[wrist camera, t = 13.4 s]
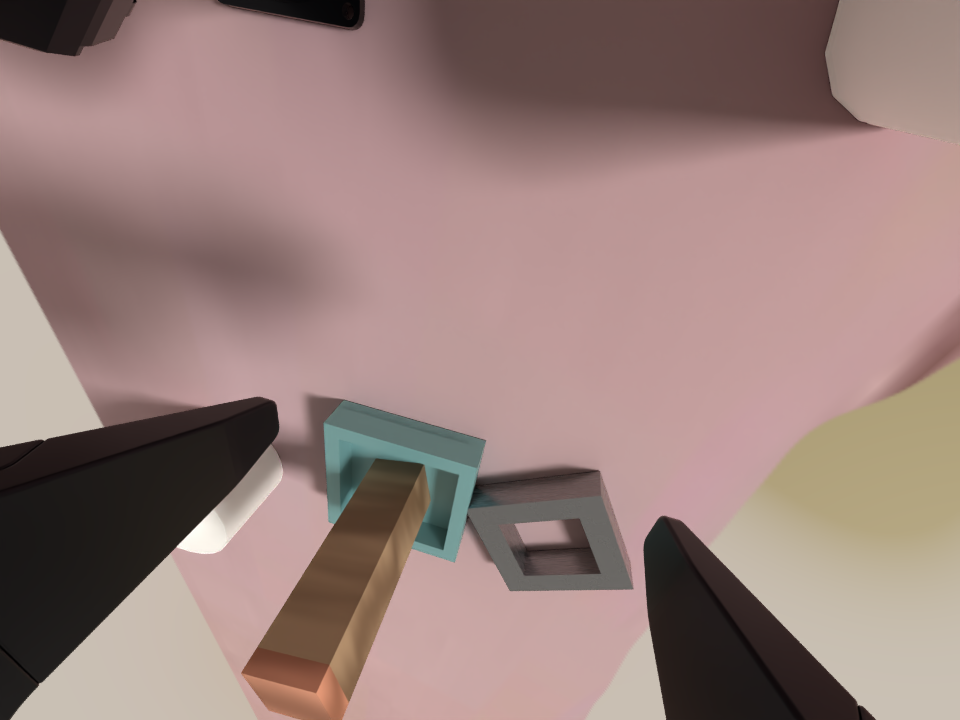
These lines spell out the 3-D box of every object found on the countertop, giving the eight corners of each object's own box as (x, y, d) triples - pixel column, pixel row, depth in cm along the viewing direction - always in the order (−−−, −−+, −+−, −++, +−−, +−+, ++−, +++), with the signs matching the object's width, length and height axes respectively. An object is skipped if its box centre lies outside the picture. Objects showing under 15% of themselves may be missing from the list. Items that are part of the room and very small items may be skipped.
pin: (376, 458, 28) (241, 673, 17) (424, 463, 27) (316, 693, 16) (385, 494, 29) (268, 710, 18) (430, 500, 29) (337, 730, 18)
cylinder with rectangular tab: (252, 504, 36) (122, 652, 25) (167, 439, 33) (-13, 572, 23) (302, 466, 31) (168, 626, 21) (208, 388, 29) (9, 525, 19)
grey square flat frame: (471, 486, 28) (464, 508, 26) (599, 471, 25) (601, 495, 23) (513, 566, 32) (509, 591, 30) (630, 562, 28) (633, 589, 27)
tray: (345, 496, 32) (328, 522, 30) (343, 399, 27) (323, 423, 25) (463, 533, 31) (454, 562, 29) (485, 440, 26) (477, 468, 24)
